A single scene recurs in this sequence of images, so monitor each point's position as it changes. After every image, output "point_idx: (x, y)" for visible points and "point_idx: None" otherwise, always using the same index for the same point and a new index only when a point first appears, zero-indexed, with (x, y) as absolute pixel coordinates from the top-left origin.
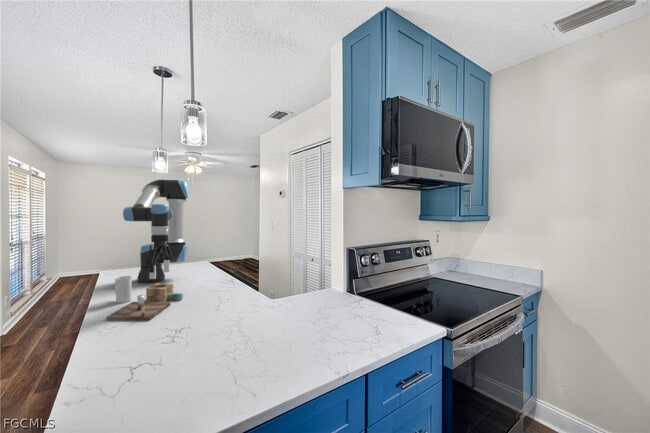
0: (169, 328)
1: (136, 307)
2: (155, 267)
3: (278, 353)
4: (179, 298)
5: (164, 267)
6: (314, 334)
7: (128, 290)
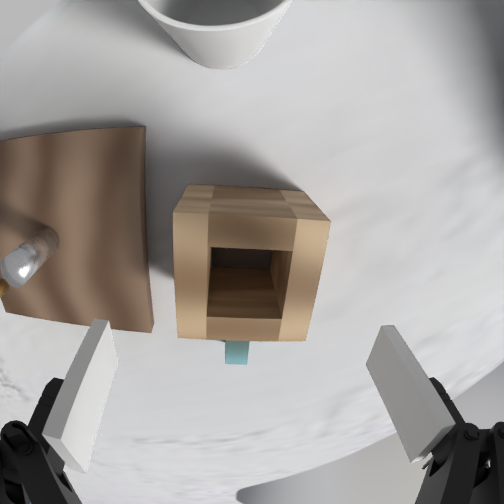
0: (3, 365)
1: (59, 207)
2: (83, 452)
3: None
4: (225, 342)
5: (400, 366)
6: (88, 497)
7: (195, 53)
